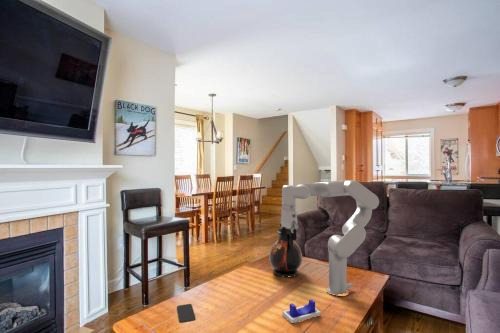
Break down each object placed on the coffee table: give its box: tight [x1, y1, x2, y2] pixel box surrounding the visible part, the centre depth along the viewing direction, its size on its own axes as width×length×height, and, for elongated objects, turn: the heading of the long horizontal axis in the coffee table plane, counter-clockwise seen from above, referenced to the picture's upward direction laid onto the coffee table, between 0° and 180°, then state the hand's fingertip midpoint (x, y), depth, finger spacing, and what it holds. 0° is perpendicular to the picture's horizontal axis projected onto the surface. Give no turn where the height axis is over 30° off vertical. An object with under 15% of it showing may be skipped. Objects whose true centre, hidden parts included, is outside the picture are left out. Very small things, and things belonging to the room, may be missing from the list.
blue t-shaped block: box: [289, 298, 316, 318], centre depth 131 cm, size 12×4×6 cm, turn 112°
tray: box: [281, 305, 322, 324], centre depth 131 cm, size 16×8×2 cm, turn 115°
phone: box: [176, 303, 196, 324], centre depth 133 cm, size 7×1×15 cm
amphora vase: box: [268, 228, 303, 278], centre depth 183 cm, size 22×22×28 cm
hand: (288, 238), depth 156 cm, fingers open, 9 cm apart
